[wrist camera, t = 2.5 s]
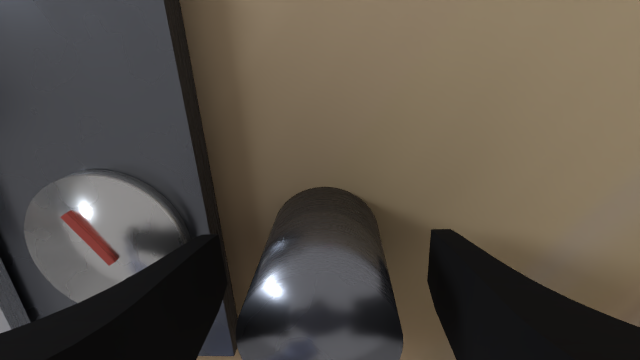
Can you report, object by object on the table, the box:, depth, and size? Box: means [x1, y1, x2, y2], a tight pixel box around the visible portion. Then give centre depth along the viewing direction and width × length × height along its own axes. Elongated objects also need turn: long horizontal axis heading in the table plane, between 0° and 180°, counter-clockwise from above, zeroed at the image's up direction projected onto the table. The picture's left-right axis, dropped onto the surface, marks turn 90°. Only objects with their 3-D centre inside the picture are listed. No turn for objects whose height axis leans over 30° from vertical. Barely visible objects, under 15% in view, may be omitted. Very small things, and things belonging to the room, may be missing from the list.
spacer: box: [236, 187, 403, 360], centre depth 10 cm, size 4×4×5 cm
